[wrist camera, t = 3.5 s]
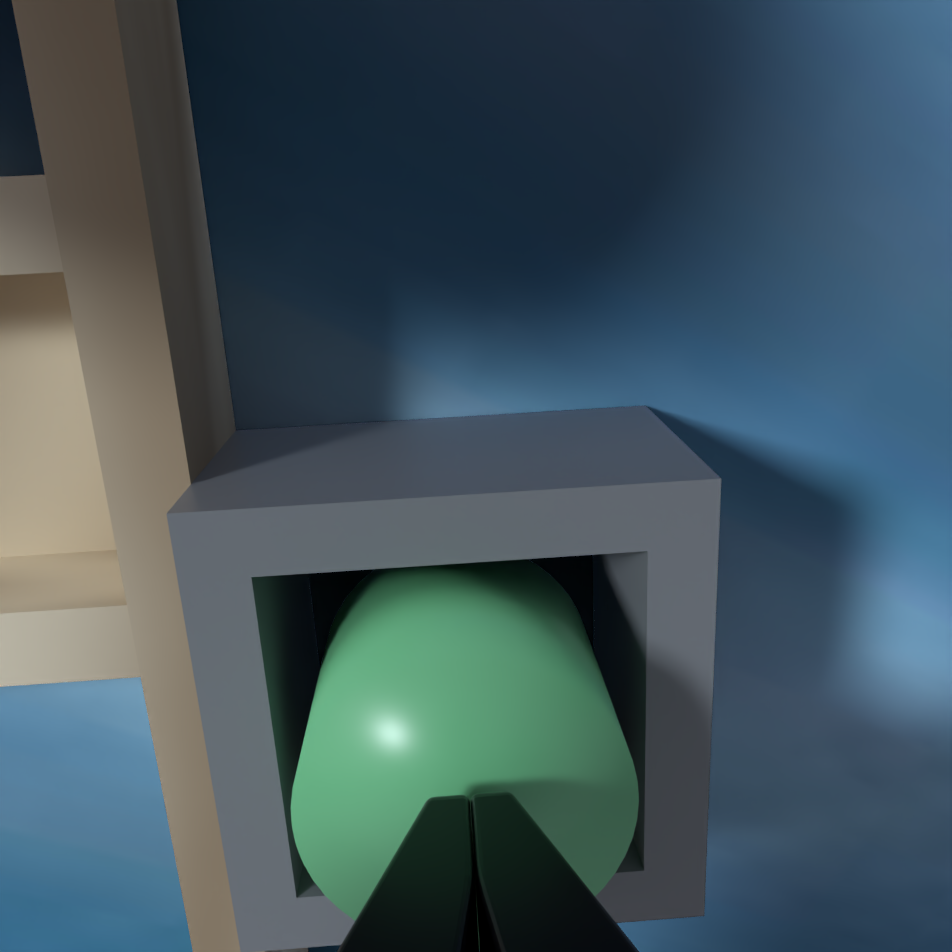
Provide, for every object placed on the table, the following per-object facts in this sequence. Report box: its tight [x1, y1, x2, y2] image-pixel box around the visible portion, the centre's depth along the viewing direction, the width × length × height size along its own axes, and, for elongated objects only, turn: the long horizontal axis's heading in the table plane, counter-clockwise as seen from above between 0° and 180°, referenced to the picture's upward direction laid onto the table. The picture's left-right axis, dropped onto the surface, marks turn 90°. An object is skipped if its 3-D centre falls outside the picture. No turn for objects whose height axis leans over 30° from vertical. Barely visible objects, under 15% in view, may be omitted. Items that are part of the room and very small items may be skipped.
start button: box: [291, 559, 639, 949], centre depth 10 cm, size 4×4×3 cm
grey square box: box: [166, 406, 721, 952], centre depth 12 cm, size 6×6×4 cm
